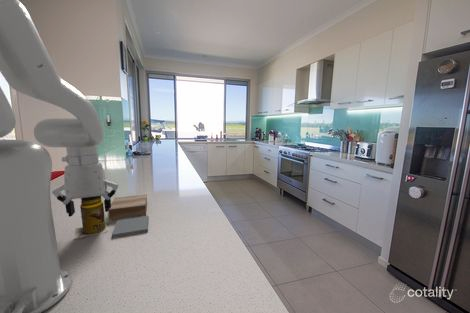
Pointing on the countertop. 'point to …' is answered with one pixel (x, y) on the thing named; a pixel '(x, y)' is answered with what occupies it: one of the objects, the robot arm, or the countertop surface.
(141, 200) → the block
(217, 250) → the countertop surface
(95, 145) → the robot arm
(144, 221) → the coaster
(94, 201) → the condiment
